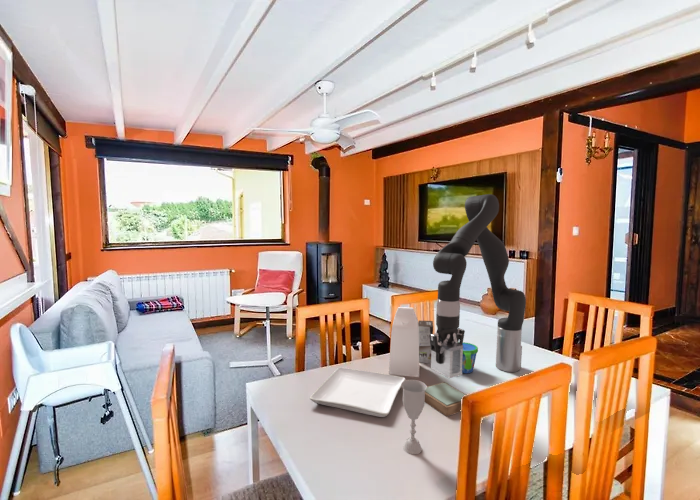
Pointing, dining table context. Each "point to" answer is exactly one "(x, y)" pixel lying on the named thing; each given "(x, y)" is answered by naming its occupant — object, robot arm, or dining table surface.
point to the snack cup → (468, 357)
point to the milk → (404, 343)
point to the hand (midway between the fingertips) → (446, 361)
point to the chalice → (413, 410)
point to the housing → (449, 360)
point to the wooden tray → (444, 398)
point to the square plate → (359, 391)
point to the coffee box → (425, 340)
